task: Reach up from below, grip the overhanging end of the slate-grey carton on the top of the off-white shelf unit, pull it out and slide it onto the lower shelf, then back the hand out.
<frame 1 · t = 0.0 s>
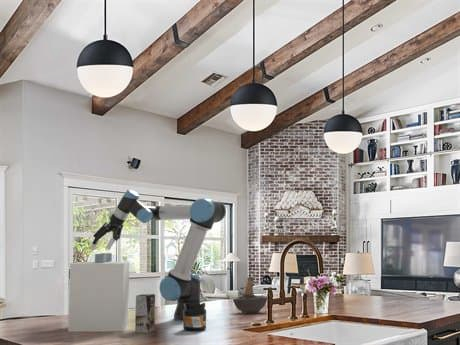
hand: (99, 248, 335), 36 cm above the countertop, tool tilted 35°, fingers open, 13 cm apart
shelf unit: (99, 328, 287), on the countertop
supplement container: (194, 330, 282), on the countertop
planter: (250, 313, 351), on the countertop
coffee box: (145, 331, 278), on the countertop
slate carton: (103, 262, 298), point 30 cm above the countertop, touching shelf unit
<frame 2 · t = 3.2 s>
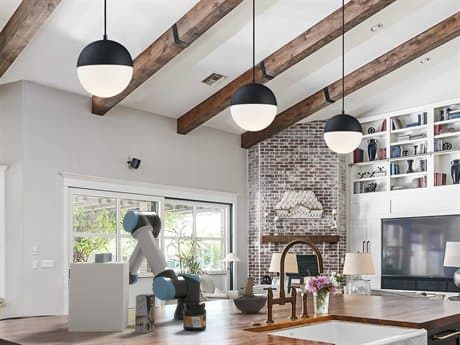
hand: (109, 267, 316), 27 cm above the countertop, tool pointing upward, fingers open, 13 cm apart
nothing on the countertop moved.
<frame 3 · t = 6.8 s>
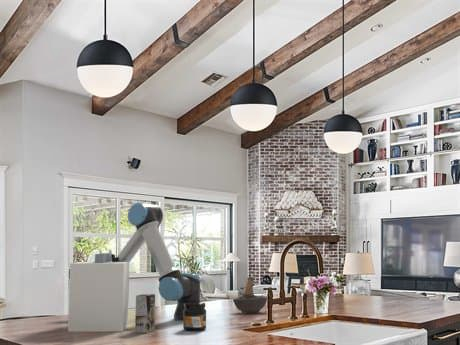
hand: (105, 252, 302), 35 cm above the countertop, tool pointing upward, fingers closed on slate carton, 4 cm apart
slate carton: (103, 262, 298), point 30 cm above the countertop, touching gripper, shelf unit
everything else where it was.
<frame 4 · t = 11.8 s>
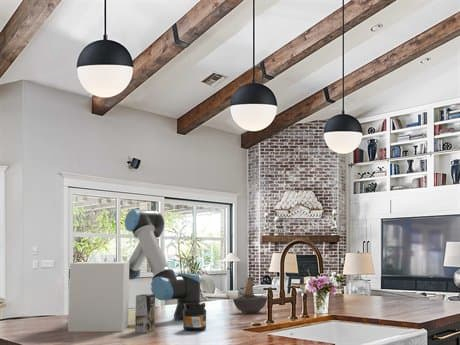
hand: (109, 260, 318), 30 cm above the countertop, tool pointing upward, fingers closed on slate carton, 4 cm apart
slate carton: (108, 270, 314), point 25 cm above the countertop, touching gripper
everything else where it was.
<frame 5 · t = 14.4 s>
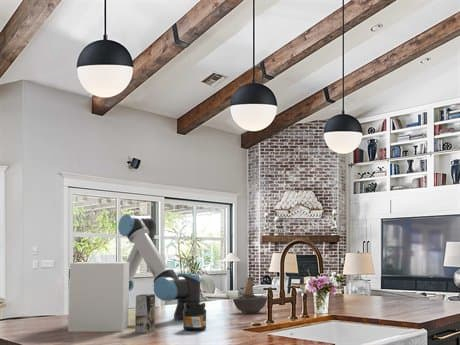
hand: (105, 271, 311), 25 cm above the countertop, tool pointing upward, fingers closed on slate carton, 4 cm apart
slate carton: (104, 281, 306), point 20 cm above the countertop, touching gripper
everything else where it was.
when the fingers open (25 cm above the countertop, at t = 16.8 s): slate carton drops 1 cm, resting on shelf unit.
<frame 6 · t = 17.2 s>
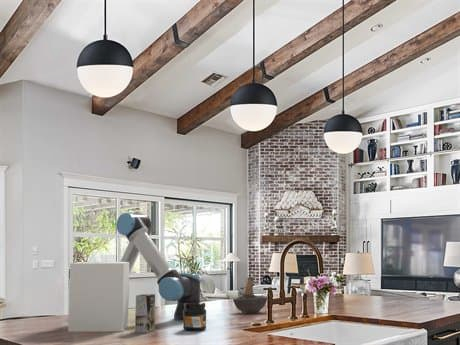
hand: (104, 274, 302), 24 cm above the countertop, tool pointing upward, fingers open, 10 cm apart
slate carton: (103, 286, 297), point 18 cm above the countertop, touching shelf unit
everything else where it was.
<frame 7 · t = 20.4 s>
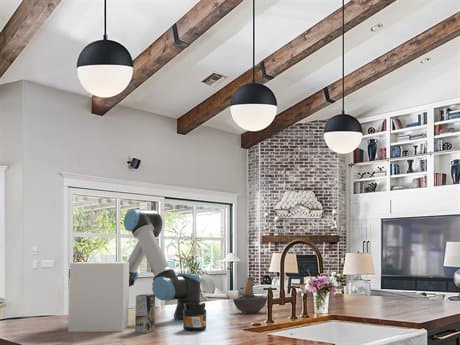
hand: (115, 273, 316), 24 cm above the countertop, tool pointing upward, fingers open, 13 cm apart
nothing on the countertop moved.
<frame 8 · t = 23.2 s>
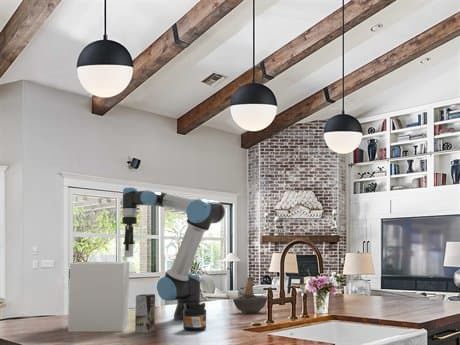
hand: (128, 256, 330), 32 cm above the countertop, tool pointing down, fingers open, 13 cm apart
nothing on the countertop moved.
at the end: slate carton inside the target area (0.1 cm from its centre), point 18.5 cm above the countertop; the gripper is holding nothing; slate carton tilted 0° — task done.
